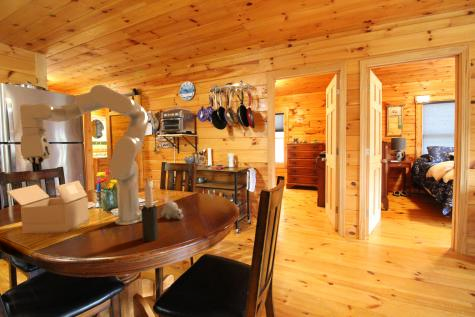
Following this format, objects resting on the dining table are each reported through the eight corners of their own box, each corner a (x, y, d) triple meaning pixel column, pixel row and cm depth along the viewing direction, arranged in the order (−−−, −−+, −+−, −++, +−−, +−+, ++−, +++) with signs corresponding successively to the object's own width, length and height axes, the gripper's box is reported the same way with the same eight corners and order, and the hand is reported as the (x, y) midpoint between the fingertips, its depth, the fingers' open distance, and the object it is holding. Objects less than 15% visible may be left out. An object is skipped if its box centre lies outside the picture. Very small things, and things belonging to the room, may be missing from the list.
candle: (158, 235, 96) (156, 176, 95) (155, 241, 91) (152, 178, 90) (146, 236, 96) (143, 176, 95) (142, 241, 91) (138, 178, 89)
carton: (89, 219, 119) (88, 196, 118) (66, 232, 101) (64, 206, 101) (51, 221, 118) (49, 197, 117) (21, 234, 101) (19, 207, 100)
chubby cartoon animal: (175, 227, 114) (180, 212, 112) (158, 215, 118) (162, 200, 116) (184, 222, 120) (189, 207, 118) (168, 211, 125) (171, 197, 123)
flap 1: (36, 184, 115) (36, 185, 115) (7, 191, 100) (6, 191, 100) (49, 196, 116) (48, 197, 116) (22, 205, 101) (21, 205, 101)
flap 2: (54, 186, 101) (56, 186, 101) (77, 180, 116) (79, 180, 116) (64, 203, 101) (65, 203, 101) (86, 195, 117) (87, 195, 117)
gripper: (56, 131, 110) (59, 170, 111) (23, 133, 110) (27, 171, 111) (43, 131, 103) (47, 172, 104) (8, 132, 102) (13, 173, 103)
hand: (37, 171), depth 107 cm, fingers closed
